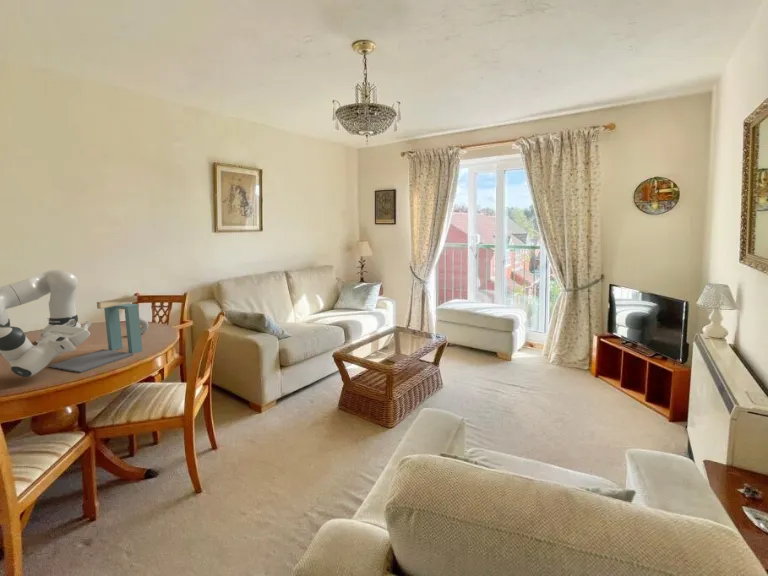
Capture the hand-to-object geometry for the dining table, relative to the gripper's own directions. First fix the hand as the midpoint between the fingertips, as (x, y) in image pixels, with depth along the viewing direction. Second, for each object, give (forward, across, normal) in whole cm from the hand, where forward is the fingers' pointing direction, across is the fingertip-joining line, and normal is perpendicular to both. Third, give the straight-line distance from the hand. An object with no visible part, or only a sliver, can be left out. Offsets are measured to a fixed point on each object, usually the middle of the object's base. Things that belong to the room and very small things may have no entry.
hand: (81, 321), depth 179 cm
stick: (+18, 0, -5) cm, 19 cm away
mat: (-7, 0, -18) cm, 20 cm away
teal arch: (+7, 0, -27) cm, 28 cm away
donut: (+29, -20, -40) cm, 53 cm away
